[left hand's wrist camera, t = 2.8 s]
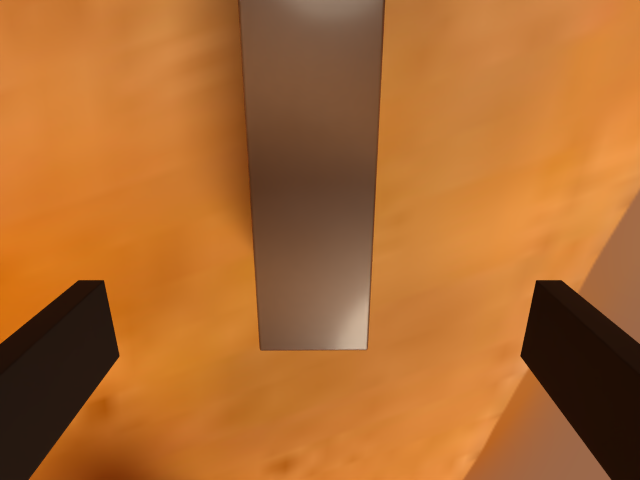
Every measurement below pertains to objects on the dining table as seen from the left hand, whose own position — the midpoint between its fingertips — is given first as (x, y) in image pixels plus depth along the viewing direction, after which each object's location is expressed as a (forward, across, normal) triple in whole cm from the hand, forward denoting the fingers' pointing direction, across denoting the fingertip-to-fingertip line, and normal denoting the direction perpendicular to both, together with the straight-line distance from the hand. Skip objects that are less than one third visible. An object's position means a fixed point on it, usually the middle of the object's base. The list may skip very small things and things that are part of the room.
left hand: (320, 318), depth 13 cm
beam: (+12, 0, -22) cm, 26 cm away
